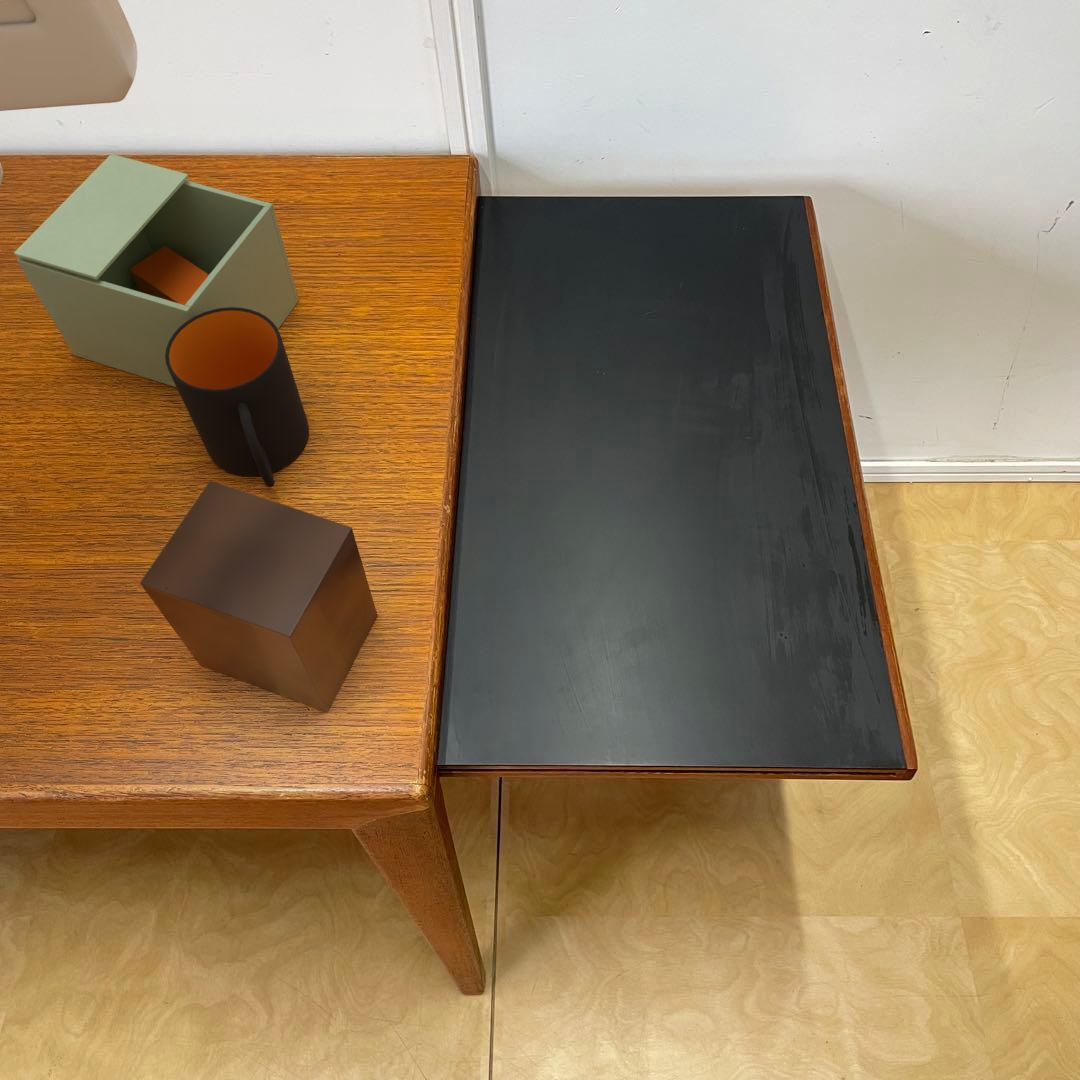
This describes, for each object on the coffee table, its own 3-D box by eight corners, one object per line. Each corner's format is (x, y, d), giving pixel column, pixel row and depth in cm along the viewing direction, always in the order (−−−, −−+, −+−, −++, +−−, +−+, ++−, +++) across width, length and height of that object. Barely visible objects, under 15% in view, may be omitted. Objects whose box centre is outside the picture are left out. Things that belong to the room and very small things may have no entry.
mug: (226, 527, 71) (184, 444, 62) (198, 413, 76) (155, 323, 68) (332, 495, 72) (305, 411, 63) (296, 386, 78) (267, 295, 69)
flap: (15, 256, 70) (13, 252, 70) (112, 156, 77) (111, 153, 76) (97, 280, 69) (95, 277, 69) (189, 177, 75) (188, 174, 75)
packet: (189, 311, 78) (200, 336, 80) (225, 285, 79) (234, 310, 82) (128, 269, 80) (140, 295, 83) (165, 245, 82) (175, 271, 84)
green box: (73, 355, 79) (16, 260, 71) (156, 258, 86) (113, 160, 77) (225, 403, 77) (186, 311, 68) (299, 300, 83) (272, 203, 74)
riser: (199, 665, 65) (139, 582, 54) (256, 572, 69) (209, 479, 58) (327, 713, 63) (289, 637, 53) (378, 615, 67) (352, 527, 57)
